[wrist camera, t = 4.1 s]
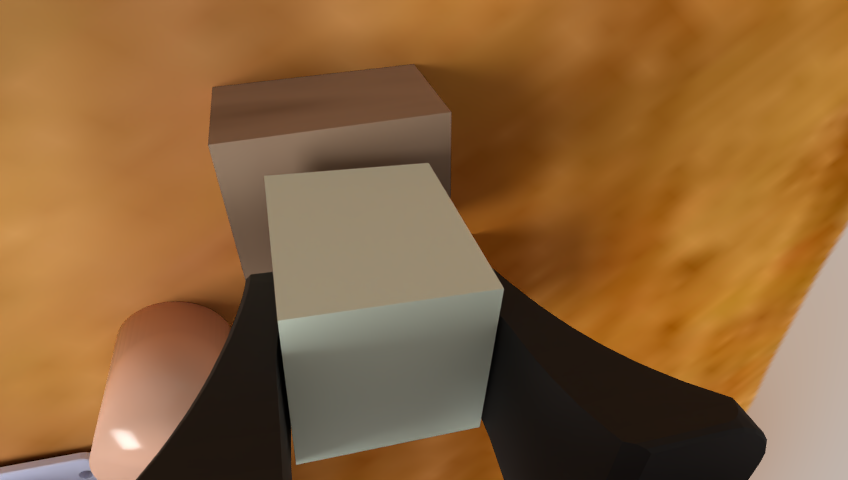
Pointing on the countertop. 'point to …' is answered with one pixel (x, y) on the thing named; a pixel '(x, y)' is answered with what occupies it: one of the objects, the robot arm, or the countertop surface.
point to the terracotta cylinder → (153, 383)
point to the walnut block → (319, 138)
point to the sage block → (378, 308)
